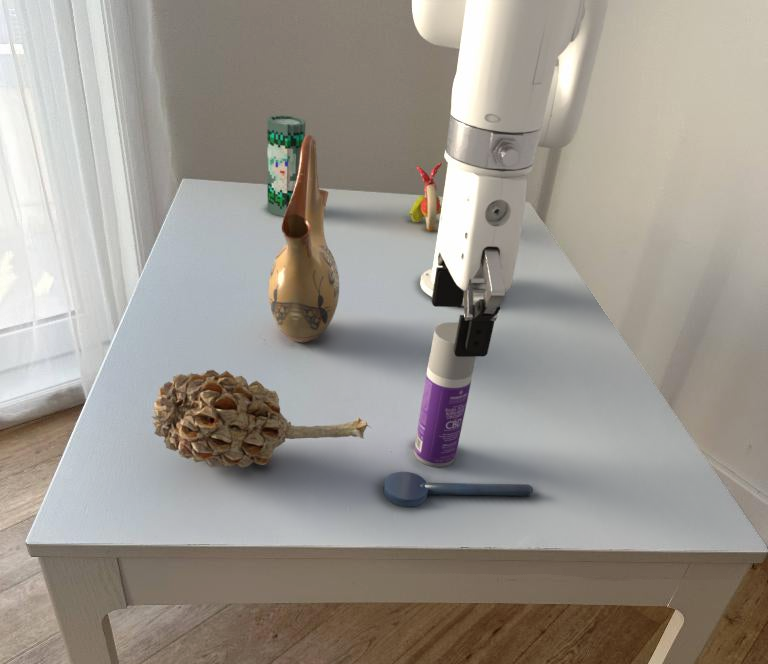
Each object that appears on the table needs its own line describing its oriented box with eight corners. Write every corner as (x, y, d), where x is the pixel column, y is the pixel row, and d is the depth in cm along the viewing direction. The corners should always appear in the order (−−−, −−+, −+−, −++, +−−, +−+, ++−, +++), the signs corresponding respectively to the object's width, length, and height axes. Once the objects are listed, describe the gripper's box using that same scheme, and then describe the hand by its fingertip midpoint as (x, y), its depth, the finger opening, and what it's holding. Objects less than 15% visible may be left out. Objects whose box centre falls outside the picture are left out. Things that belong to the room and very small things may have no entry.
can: (264, 213, 132) (263, 121, 122) (273, 202, 136) (274, 113, 126) (297, 218, 131) (299, 127, 122) (305, 207, 136) (308, 118, 126)
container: (442, 472, 80) (467, 349, 70) (406, 456, 81) (424, 333, 71) (462, 452, 83) (488, 332, 73) (426, 436, 84) (447, 317, 75)
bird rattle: (445, 242, 136) (438, 206, 139) (459, 193, 126) (452, 156, 129) (412, 241, 135) (406, 204, 138) (424, 192, 125) (417, 154, 128)
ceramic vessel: (326, 369, 93) (338, 161, 77) (256, 359, 93) (253, 149, 77) (343, 312, 106) (357, 122, 89) (282, 303, 106) (284, 112, 89)
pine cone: (152, 489, 73) (141, 405, 66) (161, 432, 80) (151, 351, 73) (371, 487, 77) (381, 408, 70) (361, 433, 84) (369, 356, 77)
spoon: (385, 506, 74) (386, 497, 74) (381, 478, 78) (382, 469, 77) (536, 508, 77) (539, 499, 76) (526, 480, 80) (528, 472, 79)
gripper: (569, 183, 55) (519, 376, 67) (505, 116, 68) (472, 289, 79) (474, 178, 54) (440, 377, 66) (426, 111, 66) (404, 288, 78)
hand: (457, 329), depth 72 cm, fingers open, 9 cm apart
